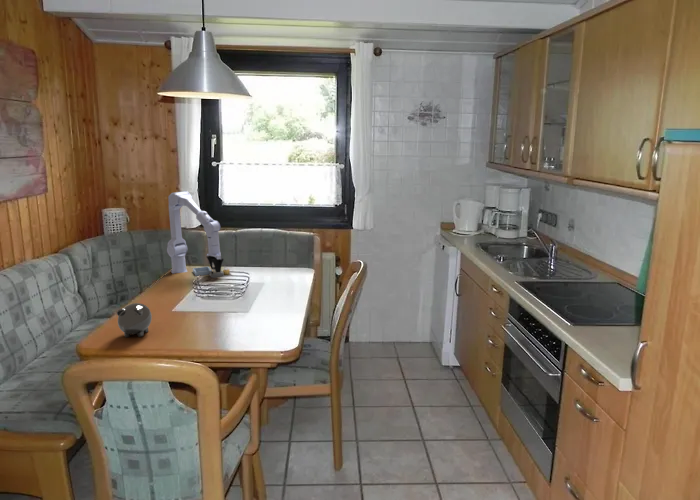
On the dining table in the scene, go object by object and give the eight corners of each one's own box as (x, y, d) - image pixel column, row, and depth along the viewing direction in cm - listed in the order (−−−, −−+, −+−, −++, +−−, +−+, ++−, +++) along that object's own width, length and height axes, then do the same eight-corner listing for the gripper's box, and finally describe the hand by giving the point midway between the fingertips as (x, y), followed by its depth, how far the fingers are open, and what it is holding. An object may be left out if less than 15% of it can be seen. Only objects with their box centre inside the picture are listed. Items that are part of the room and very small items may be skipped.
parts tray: (192, 272, 287) (192, 268, 286) (208, 270, 290) (208, 266, 290) (195, 277, 277) (195, 272, 277) (212, 275, 281) (211, 270, 280)
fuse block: (209, 275, 279) (208, 269, 279) (229, 273, 283) (228, 267, 283) (211, 279, 272) (211, 272, 271) (232, 276, 276) (232, 270, 276)
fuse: (212, 275, 278) (211, 262, 276) (218, 274, 279) (217, 261, 277) (213, 276, 275) (212, 263, 273) (220, 275, 276) (219, 262, 275)
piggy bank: (112, 342, 189) (108, 311, 186) (129, 328, 203) (125, 299, 201) (143, 342, 188) (140, 310, 186) (158, 327, 203) (155, 298, 201)
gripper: (201, 243, 278) (204, 269, 280) (210, 248, 265) (212, 274, 268) (215, 242, 281) (217, 267, 284) (224, 246, 269) (226, 272, 272)
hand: (215, 270), depth 276 cm, fingers open, 7 cm apart
